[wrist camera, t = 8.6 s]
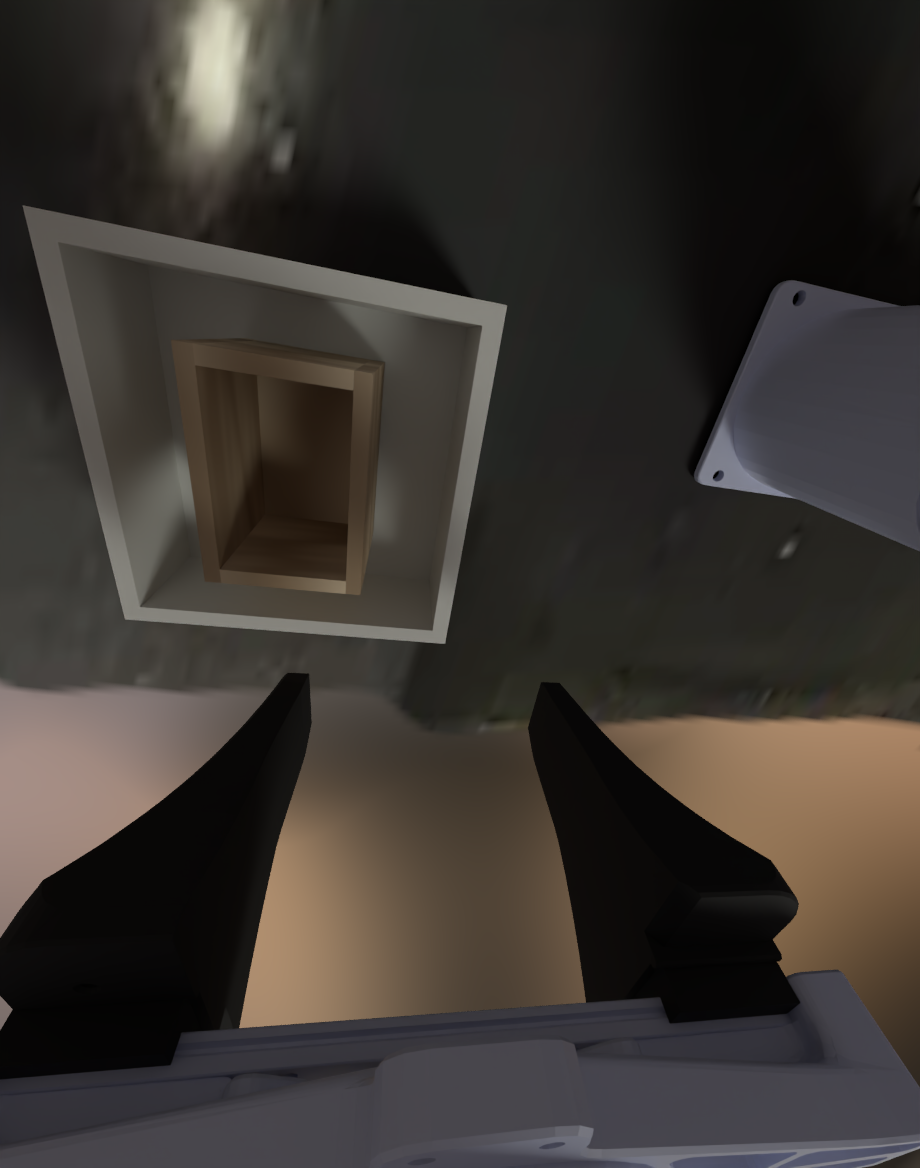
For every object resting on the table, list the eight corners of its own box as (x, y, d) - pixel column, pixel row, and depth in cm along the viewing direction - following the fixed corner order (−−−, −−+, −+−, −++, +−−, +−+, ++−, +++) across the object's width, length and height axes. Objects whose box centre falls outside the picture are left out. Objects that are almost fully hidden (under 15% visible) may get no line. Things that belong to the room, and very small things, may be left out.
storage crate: (483, 313, 17) (507, 305, 12) (438, 584, 22) (445, 643, 18) (137, 243, 15) (22, 205, 10) (186, 559, 20) (125, 619, 16)
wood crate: (384, 362, 16) (372, 373, 12) (373, 532, 20) (360, 594, 15) (244, 338, 16) (170, 339, 11) (257, 519, 19) (204, 581, 14)
